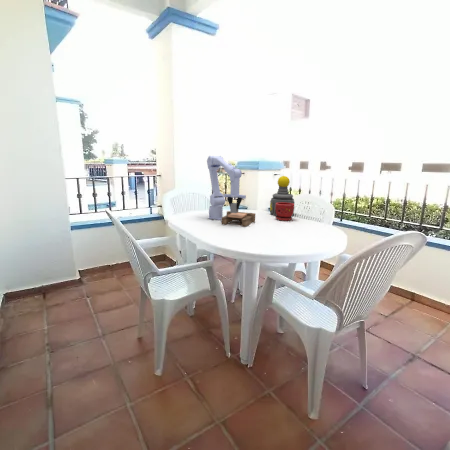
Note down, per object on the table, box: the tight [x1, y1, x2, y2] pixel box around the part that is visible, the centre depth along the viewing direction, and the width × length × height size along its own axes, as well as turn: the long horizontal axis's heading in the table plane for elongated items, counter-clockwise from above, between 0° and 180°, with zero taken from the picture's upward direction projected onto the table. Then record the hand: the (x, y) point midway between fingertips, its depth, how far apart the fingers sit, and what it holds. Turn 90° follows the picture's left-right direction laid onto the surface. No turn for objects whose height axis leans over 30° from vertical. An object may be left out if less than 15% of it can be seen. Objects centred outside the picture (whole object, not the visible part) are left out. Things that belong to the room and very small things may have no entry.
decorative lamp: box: [269, 175, 295, 217], centre depth 213 cm, size 19×19×30 cm
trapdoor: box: [228, 213, 247, 218], centre depth 184 cm, size 10×10×1 cm
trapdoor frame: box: [221, 210, 256, 228], centre depth 185 cm, size 20×16×6 cm
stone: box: [229, 202, 239, 213], centre depth 180 cm, size 4×4×6 cm
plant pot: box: [275, 202, 295, 222], centre depth 197 cm, size 13×13×12 cm
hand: (234, 208), depth 180 cm, fingers closed on stone, 4 cm apart
